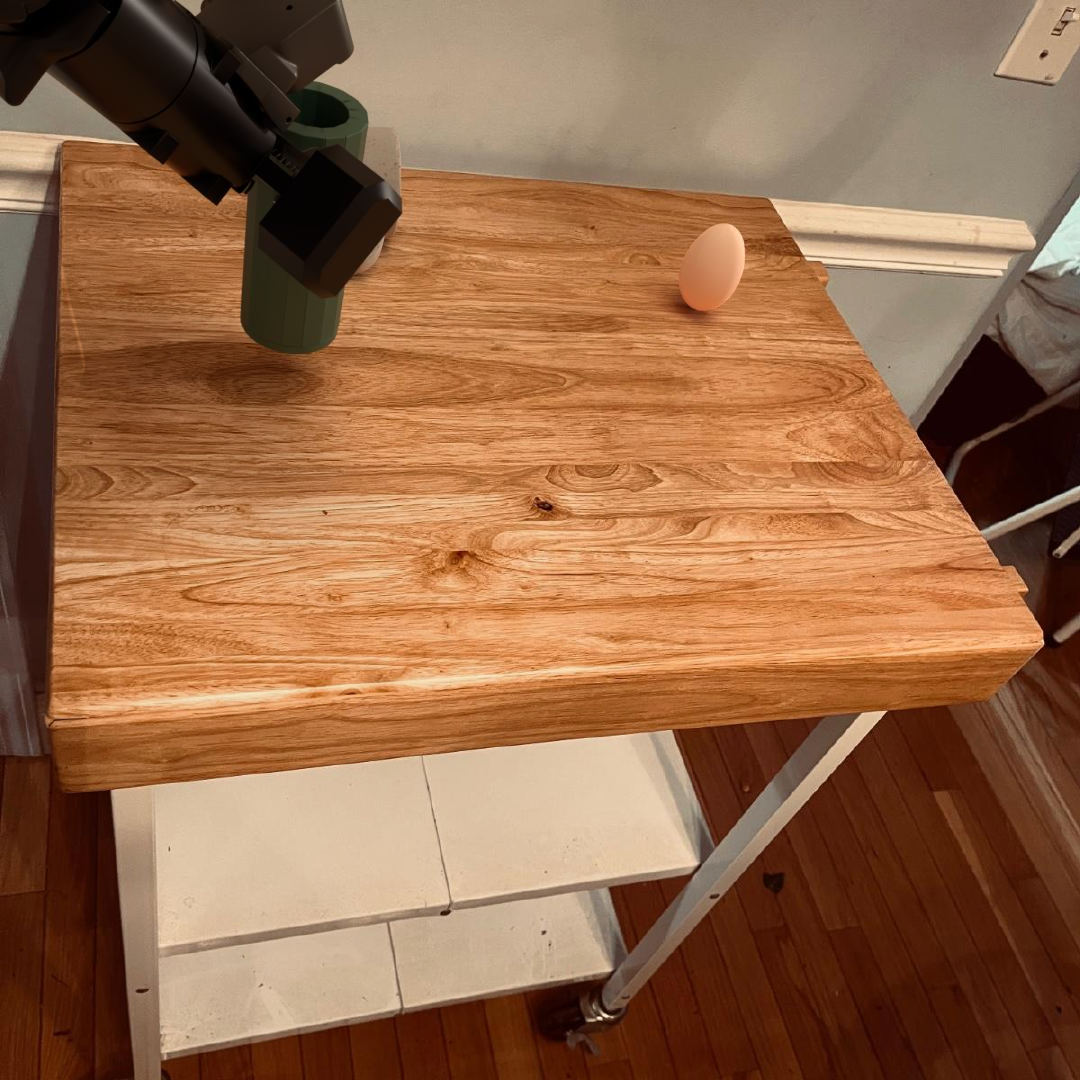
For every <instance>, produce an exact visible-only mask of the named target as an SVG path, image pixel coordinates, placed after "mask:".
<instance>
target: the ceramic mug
mask: <svg viewBox="0 0 1080 1080" xmlns="http://www.w3.org/2000/svg"><path fill="white" fill-rule="evenodd" d="M401 155H402V154H401V145H400V138H399V135H398V132H397V130H396V129H395V128H394V127H391V126H368V130H367V137H366V144H365V151H364V158H363V163H364V164H365V165H366V166H368V167H369V168H370V169H371V170H373V171H374V172H375V173H377V174H378V175H379V176H380V177H382V178H383V179H384V180H386V182H387V183H388V184H389V185H390V186H391V187H392V188H393V189H394V190H395V191H396V192H397V194H398V195H399V196H400V197H401V196H402V195H401V194H402V157H401ZM401 198H402V197H401ZM398 223H399V218H398V219H397V221H396V222H395V223H394V225H393V226H392V227H391V228H390V230H389V231H388V232H387V233H386V235H385V236H384V237H383V238H382V240H381V241H380V242H379V243H378V245H377V246H376V247H375V248H374V250H373V251H372V252H371V253H370V255H369V256H368V257H367V258H366V260H365V261H364V262H363V263H362V265H361V266H360V267H359V269H358V270H357V271H356V272H355V274H354V275H353V276H356V275H358V274H362V273H364V272H365V271H367V270H368V269H370V268H371V267H372V266H374V264H375V263H376V261H377V260H378V258H379V256H380V254H381V252H382V248H383V244H384V241H385V239H393V238H394V236H395V234H396V232H397V227H398Z"/></svg>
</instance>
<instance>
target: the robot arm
mask: <svg viewBox="0 0 1080 1080" xmlns="http://www.w3.org/2000/svg"><path fill="white" fill-rule="evenodd" d="M354 51H355V45H354V41H353V37H352V33H351V30H350V25H349V22H348V18H347V14H346V11H345V7H344V2H343V0H202V1H201V4H200V11H199V12H198V13H197V14H196V15H195V14H193V12H192V11H190V10H189V9H188V8H186V7H185V6H184V5H183V4H181V3H180V2H179V1H177V0H0V99H2V100H3V101H4V102H5V103H6V104H7V105H8V106H12V107H19V106H22V104H23V103H24V102H25V100H26V99H27V98H28V97H29V95H30V94H31V92H32V91H33V90H34V88H35V87H36V86H37V85H38V83H39V82H40V80H41V79H42V78H43V76H44V75H45V74H48V75H49V76H50V77H52V78H53V79H54V80H55V81H57V82H58V83H60V84H61V85H62V86H63V87H65V88H66V90H69V91H70V92H71V93H72V94H73V95H75V96H76V97H78V98H79V99H80V100H82V102H84V103H85V104H86V105H88V106H89V107H90V108H92V109H93V110H95V111H96V112H97V113H98V114H100V115H101V116H102V117H104V118H105V119H106V120H107V121H109V122H110V123H112V124H113V125H114V126H115V127H116V128H118V129H119V130H120V131H121V132H122V133H123V134H125V135H126V136H127V137H128V138H129V139H130V140H132V141H133V142H134V143H135V144H136V145H138V146H139V147H140V148H141V149H142V150H144V151H145V153H147V154H148V155H149V156H151V157H152V158H153V159H154V160H156V161H157V162H159V163H160V164H161V165H162V166H164V165H166V166H167V167H168V168H170V169H171V170H172V171H173V172H175V173H176V174H178V176H179V177H181V178H182V179H183V180H184V181H185V182H186V183H188V184H189V185H190V186H191V187H192V188H193V189H195V190H196V191H197V192H198V193H199V194H201V195H202V196H203V197H204V198H205V199H206V200H208V201H209V202H210V203H212V204H213V205H214V206H216V207H218V205H220V203H221V202H222V200H223V199H224V198H225V196H226V195H227V194H228V193H229V192H230V190H232V191H234V192H235V193H236V194H237V195H238V196H240V197H247V194H248V193H249V191H250V190H251V189H252V188H253V186H254V183H255V181H254V180H253V179H252V178H253V177H254V176H255V175H256V176H257V177H259V178H260V179H261V180H262V181H263V182H265V183H266V184H267V185H268V186H270V187H271V188H272V189H273V190H274V191H276V192H277V193H278V195H277V196H276V197H275V198H274V200H273V202H274V205H273V206H272V207H271V209H270V210H269V211H268V212H267V214H266V215H265V216H264V218H263V219H262V220H261V221H260V223H259V228H258V244H257V247H258V248H259V249H260V250H262V251H263V252H264V253H265V254H266V255H267V256H269V257H270V258H271V259H272V260H273V261H274V262H276V263H277V264H278V265H279V266H280V267H281V268H283V269H284V270H285V271H286V272H287V273H288V274H290V275H291V276H292V277H293V278H294V279H295V280H297V281H298V282H299V283H300V284H301V285H303V286H304V287H305V288H307V289H308V290H309V291H311V292H312V293H313V294H315V295H316V296H317V297H319V298H320V299H327V298H332V297H336V296H337V295H338V294H339V292H340V291H341V290H342V289H343V287H344V286H345V287H346V285H347V284H348V283H349V281H350V280H351V279H352V278H353V276H355V275H356V274H355V272H356V271H357V270H358V269H359V267H360V266H361V265H362V263H363V262H364V261H365V260H366V258H367V257H368V256H369V255H370V253H371V252H372V251H373V250H374V248H375V247H376V246H377V245H378V243H379V242H380V241H381V240H382V238H383V237H384V236H385V235H386V233H387V232H388V231H389V230H390V228H391V227H392V226H393V225H394V223H395V222H396V221H397V219H398V220H399V218H400V217H401V216H402V215H403V197H400V196H399V195H398V194H397V192H396V191H395V190H394V189H393V188H392V187H391V186H390V185H389V184H388V183H387V182H386V180H384V179H383V178H382V177H380V176H379V175H378V174H377V173H375V172H374V171H373V170H371V169H370V168H369V167H368V166H366V165H365V164H364V163H362V162H361V161H360V160H359V159H357V158H356V157H355V156H353V155H352V154H351V153H350V152H348V151H347V150H346V149H344V148H343V147H342V146H341V145H339V144H335V145H332V146H328V147H324V148H318V147H312V148H309V149H307V150H305V151H300V150H299V149H298V148H296V147H295V146H294V145H293V144H291V143H290V142H289V141H287V140H286V139H285V138H284V137H282V136H281V135H280V134H279V133H277V132H276V130H277V128H278V129H279V130H281V131H283V132H284V131H286V130H287V128H288V127H289V126H290V125H291V123H292V122H293V121H294V119H295V118H296V117H297V116H298V114H299V113H300V110H299V109H298V108H297V107H296V106H295V105H294V104H293V103H292V102H291V101H290V100H289V99H288V98H287V97H286V96H285V95H288V94H293V93H296V92H298V91H300V90H302V89H303V88H304V87H306V86H307V85H308V84H310V83H311V82H312V81H316V80H317V79H318V78H319V77H320V76H322V75H323V74H325V73H326V72H328V70H330V69H331V68H333V67H334V66H336V65H342V64H344V63H345V62H346V61H348V60H349V59H350V58H351V56H352V55H353V54H354ZM270 155H272V156H274V157H275V158H276V159H277V160H279V161H280V162H281V163H282V164H285V166H286V167H287V168H289V169H290V170H291V171H292V172H293V173H294V174H293V175H292V176H290V175H289V174H288V173H287V172H285V171H284V170H283V169H282V168H280V167H279V166H278V165H277V164H275V163H274V162H273V161H272V160H271V159H269V157H270ZM298 170H300V172H298ZM354 274H355V275H354Z"/></svg>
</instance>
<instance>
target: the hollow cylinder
mask: <svg viewBox="0 0 1080 1080" xmlns="http://www.w3.org/2000/svg"><path fill="white" fill-rule="evenodd" d="M285 96H286V97H287V98H288V99H289V100H290V101H291V102H292V103H293V104H294V105H295V106H296V107H297V108H298V109H299V110H300V113H299V114H298V116H297V117H296V118H295V119H294V121H293V122H292V123H291V125H290V126H289V127H288V128H287V130H286V131H284V132H283V131H281V130H279V129H278V128H277V130H276V132H277V133H279V134H280V135H281V136H282V137H284V138H285V139H286V140H287V141H289V142H290V143H291V144H293V145H294V146H295V147H296V148H298V149H299V150H300V151H305V150H307V149H309V148H312V147H318V148H324V147H328V146H332V145H335V144H339V145H341V146H342V147H343V148H344V149H346V150H347V151H348V152H350V153H351V154H352V155H353V156H355V157H356V158H357V159H359V160H360V161H361V162H362V163H363V158H364V151H365V144H366V137H367V130H368V127H369V122H370V121H369V114H368V110H367V109H366V108H365V107H364V105H363V104H362V103H361V102H360V100H359V99H357V98H356V97H354V96H352V95H351V94H349V93H348V92H346V91H345V90H343V89H341V88H339V87H335V86H333V85H330V84H327V83H324V82H321V81H316V80H314V81H312V82H311V83H310V84H308V85H307V86H306V87H304V88H303V89H302V90H300V91H298V92H296V93H293V94H288V95H285ZM269 159H271V160H272V161H273V162H274V163H275V164H277V165H278V166H279V167H280V168H282V169H283V170H284V171H285V172H287V173H288V174H289V175H290V176H292V175H293V174H294V173H293V172H292V171H291V170H290V169H289V168H287V167H286V166H285V164H282V163H281V162H280V161H279V160H277V159H276V158H275V157H274V156H272V155H270V157H269ZM298 172H300V170H298ZM252 179H253V180H254V181H255V183H254V186H253V188H252V189H251V190H250V191H249V193H248V194H247V195H246V212H245V228H244V229H245V230H244V245H243V247H244V248H243V262H242V278H241V295H240V313H239V317H240V318H239V319H240V320H239V321H240V324H241V327H242V329H243V331H244V333H245V334H246V335H247V337H249V339H251V340H252V341H254V342H255V343H256V344H258V345H259V346H262V347H263V348H265V349H267V350H270V351H273V352H277V353H281V354H287V355H306V354H312V353H316V352H320V351H321V350H324V349H325V348H327V347H328V346H330V345H331V344H332V343H333V341H335V339H336V337H337V335H338V332H339V331H338V330H339V327H340V322H341V315H342V309H343V303H344V295H345V287H346V285H345V286H344V287H343V289H342V290H341V291H340V292H339V294H338V295H337V296H336V297H332V298H327V299H320V298H319V297H317V296H316V295H315V294H313V293H312V292H311V291H309V290H308V289H307V288H305V287H304V286H303V285H301V284H300V283H299V282H298V281H297V280H295V279H294V278H293V277H292V276H291V275H290V274H288V273H287V272H286V271H285V270H284V269H283V268H281V267H280V266H279V265H278V264H277V263H276V262H274V261H273V260H272V259H271V258H270V257H269V256H267V255H266V254H265V253H264V252H263V251H262V250H260V249H259V248H258V247H257V244H258V228H259V223H260V221H261V220H262V219H263V218H264V216H265V215H266V214H267V212H268V211H269V210H270V209H271V207H272V206H273V205H274V202H273V200H274V198H275V197H276V196H277V195H278V193H277V192H276V191H274V190H273V189H272V188H271V187H270V186H268V185H267V184H266V183H265V182H263V181H262V180H261V179H260V178H259V177H257V176H256V175H255V176H254V177H253V178H252Z"/></svg>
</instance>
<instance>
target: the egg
mask: <svg viewBox="0 0 1080 1080" xmlns="http://www.w3.org/2000/svg"><path fill="white" fill-rule="evenodd" d="M745 262H746V248H745V241H744V238H743V236H742V234H741V232H740V231H739V230H738V229H737V227H735V226H734V225H732V224H729V223H717V224H714V225H712V226H710V227H708V228H707V229H706V230H704V231H703V232H701V234H699V236H698V237H696V238H695V240H694V241H693V242H692V243H691V244H690V246H689V247H688V249H687V251H686V252H685V254H684V256H683V259H682V261H681V264H680V268H679V273H678V287H679V291H680V295H681V297H682V299H683V300H684V302H685V303H686V305H687V306H689V308H691V309H693V310H696V311H699V312H707V311H711V310H714V309H715V308H718V307H719V306H722V305H723V304H724V303H725V302H726V301H728V300H729V299H730V297H732V295H733V294H734V292H735V291H736V289H737V287H738V285H739V283H740V281H741V278H742V277H743V272H744V269H745Z"/></svg>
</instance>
